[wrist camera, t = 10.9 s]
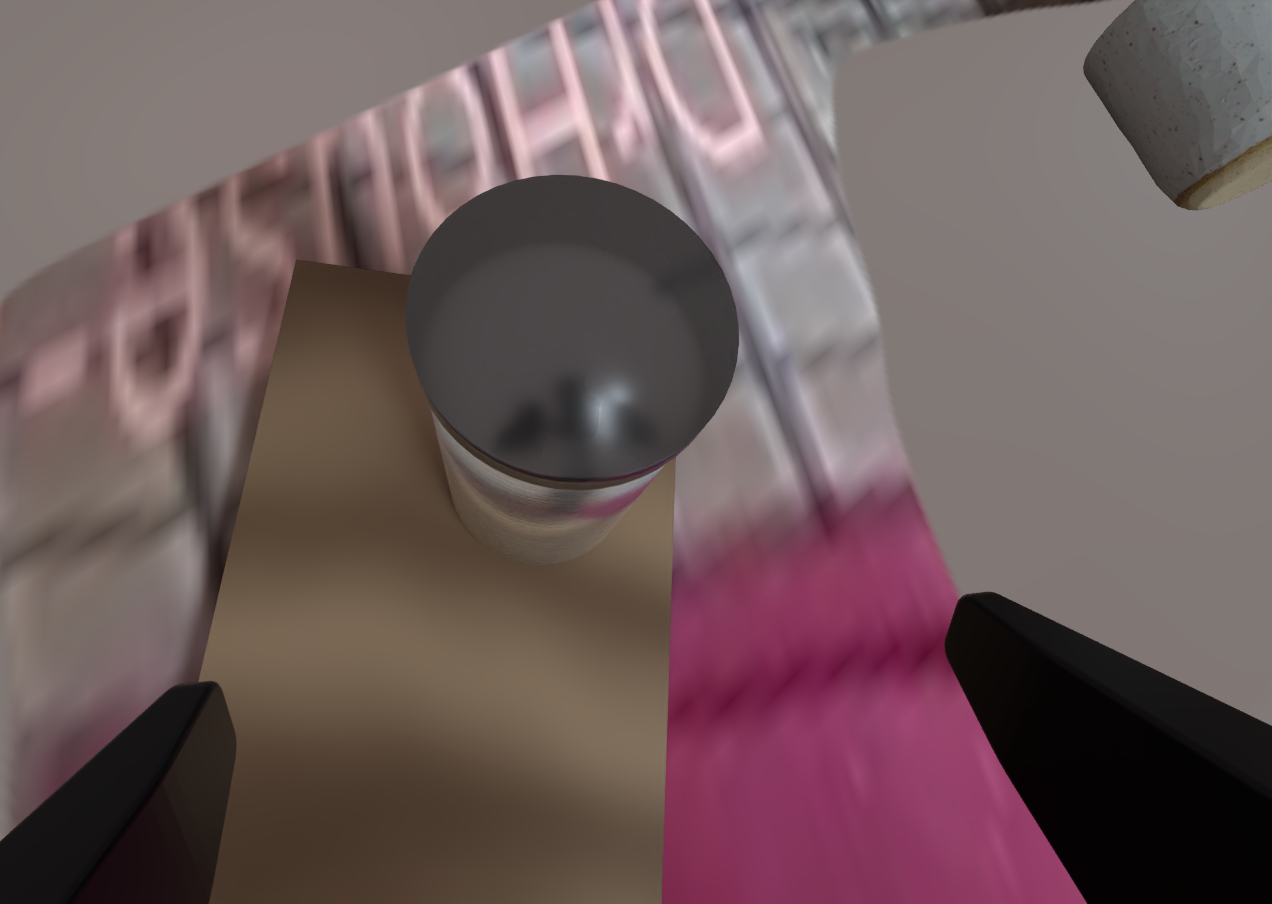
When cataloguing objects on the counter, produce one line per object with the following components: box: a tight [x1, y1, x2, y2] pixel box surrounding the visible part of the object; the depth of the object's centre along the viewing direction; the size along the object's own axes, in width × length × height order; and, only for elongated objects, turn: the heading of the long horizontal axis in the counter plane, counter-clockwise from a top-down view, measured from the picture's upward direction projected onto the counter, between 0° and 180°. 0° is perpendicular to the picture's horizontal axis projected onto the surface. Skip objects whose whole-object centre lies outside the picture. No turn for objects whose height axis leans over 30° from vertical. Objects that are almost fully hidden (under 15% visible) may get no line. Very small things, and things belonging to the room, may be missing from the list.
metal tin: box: [405, 175, 739, 565], centre depth 16 cm, size 5×5×10 cm
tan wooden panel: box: [198, 260, 676, 904], centre depth 20 cm, size 18×12×1 cm, turn 176°
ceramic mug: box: [1083, 0, 1272, 210], centre depth 29 cm, size 11×8×8 cm
